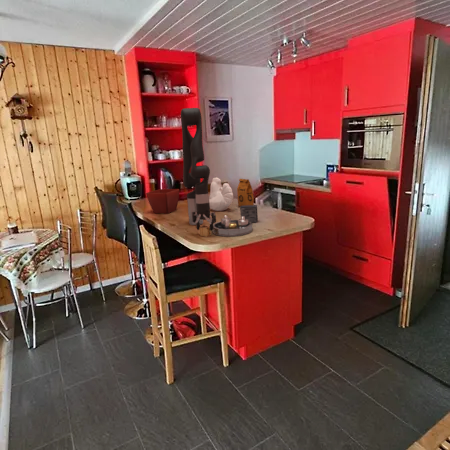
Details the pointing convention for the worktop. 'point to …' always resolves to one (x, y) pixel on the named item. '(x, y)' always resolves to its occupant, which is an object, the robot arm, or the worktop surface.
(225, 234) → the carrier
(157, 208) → the plant pot
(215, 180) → the decorative rooster
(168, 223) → the worktop surface
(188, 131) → the robot arm
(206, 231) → the planet gear
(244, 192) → the coffee package
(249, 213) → the small box
